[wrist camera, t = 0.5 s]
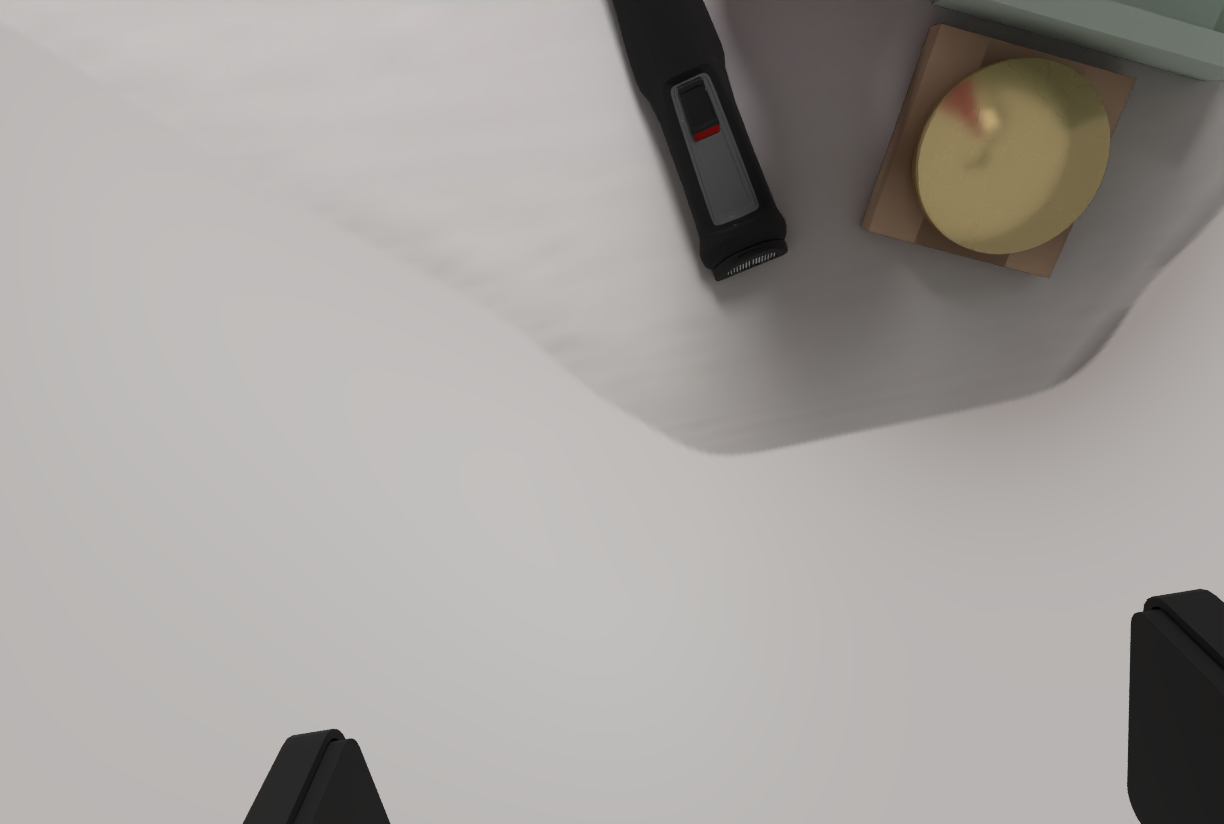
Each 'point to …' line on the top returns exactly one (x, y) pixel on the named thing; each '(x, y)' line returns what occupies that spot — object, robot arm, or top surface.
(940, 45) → the checker plinth
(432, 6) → the top surface
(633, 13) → the electric trimmer
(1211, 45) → the trough tray
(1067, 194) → the gold disc
